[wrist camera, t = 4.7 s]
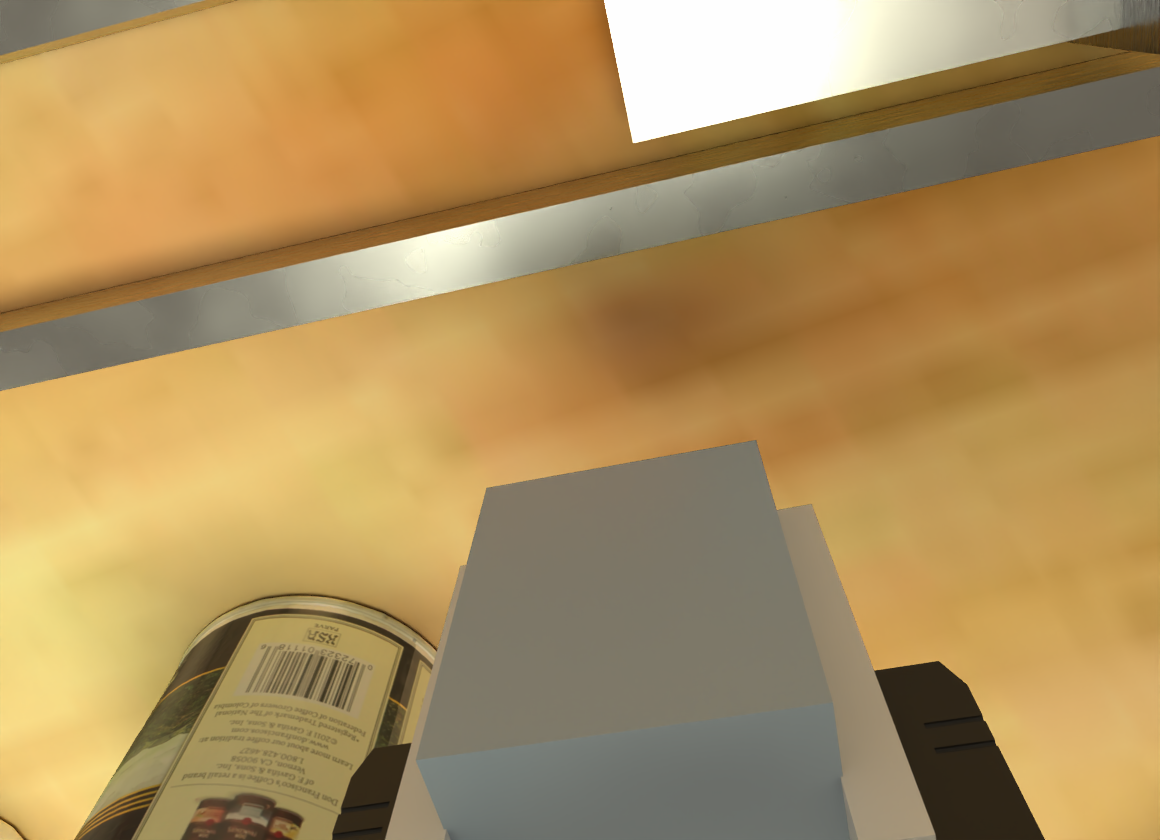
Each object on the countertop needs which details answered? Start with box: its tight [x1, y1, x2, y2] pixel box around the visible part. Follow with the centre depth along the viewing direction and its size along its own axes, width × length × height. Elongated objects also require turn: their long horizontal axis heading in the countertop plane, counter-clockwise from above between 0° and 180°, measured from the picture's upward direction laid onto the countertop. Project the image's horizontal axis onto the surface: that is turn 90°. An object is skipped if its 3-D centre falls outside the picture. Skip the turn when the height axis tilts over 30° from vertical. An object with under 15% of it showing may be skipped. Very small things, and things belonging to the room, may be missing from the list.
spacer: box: [416, 440, 850, 840], centre depth 13 cm, size 5×5×6 cm
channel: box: [0, 0, 1160, 391], centre depth 20 cm, size 38×9×6 cm, turn 103°
